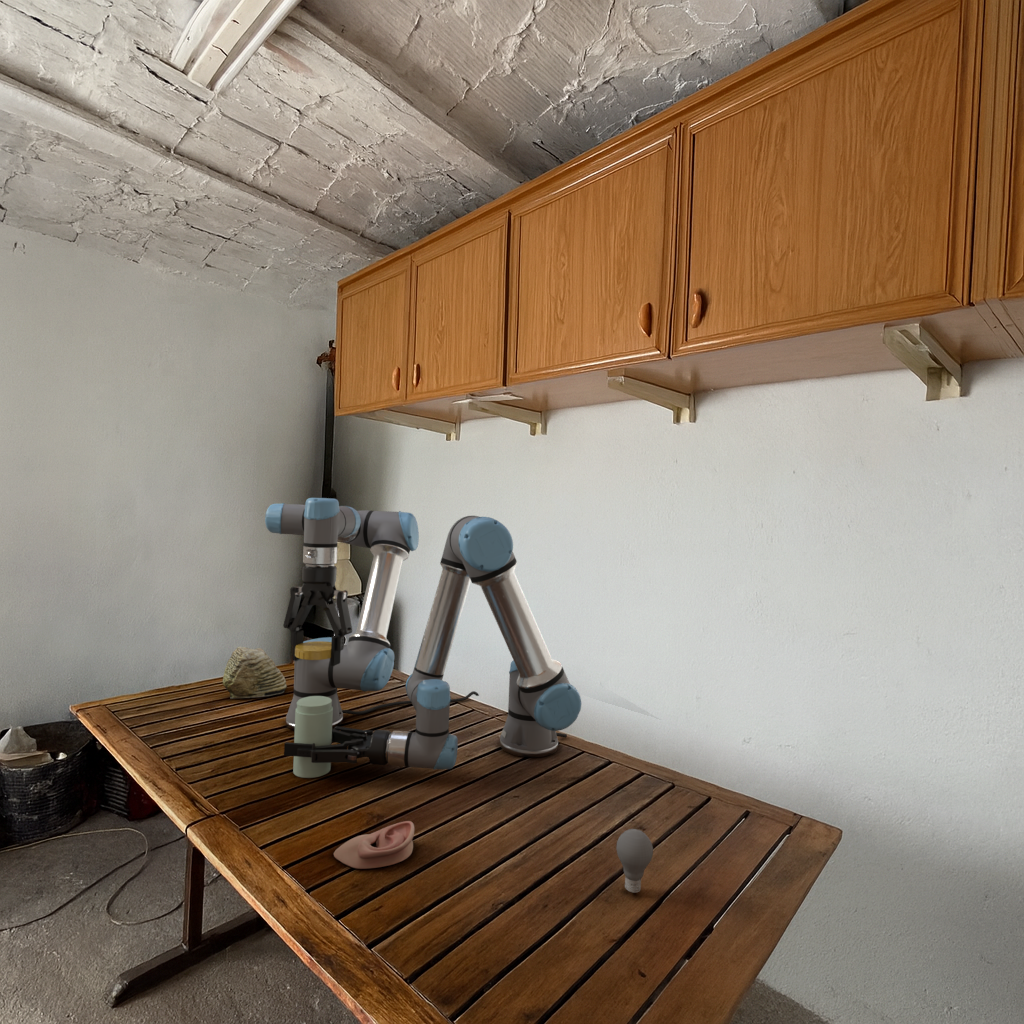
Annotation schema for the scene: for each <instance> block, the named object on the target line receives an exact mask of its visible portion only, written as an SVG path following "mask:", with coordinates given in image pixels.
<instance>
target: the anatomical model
mask: <svg viewBox="0 0 1024 1024" xmlns="http://www.w3.org/2000/svg"><path fill="white" fill-rule="evenodd" d="M414 836H415V824H414V823H413V822H412V821H411V820H405V821H400V822H397V823H393V824H391V825H388V826H386V827H383V828H381V829H379V830H376V831H373V832H371V833H368V834H367V833H366V834H361V835H357V836H355V837H353V838H351V839H349V840H347V841H345V842H344V843H342V844H341V845H340V846H338V847H337V848H336V849H335V851H334V852H333V857H334V858H335V859H336V860H337V861H339V862H341V863H342V864H344V865H346V866H348V867H350V868H353V869H357V870H367V869H376V868H377V869H378V868H382V867H387V866H388V867H389V866H393V865H395V864H398V863H400V862H403V861H405V860H407V859H408V858H409V857H410V856H411V855H412V853H413V850H414V841H413V839H414Z"/></svg>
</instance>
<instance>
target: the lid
mask: <svg viewBox="0 0 1024 1024" xmlns="http://www.w3.org/2000/svg"><path fill="white" fill-rule="evenodd" d="M331 644H332V642H324V641H314V642H305V643H301V644H298V645H296V647H295V656H296V657H297V658H300V659H305V660H323V659H329V658H331Z"/></svg>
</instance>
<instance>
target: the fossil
mask: <svg viewBox="0 0 1024 1024" xmlns="http://www.w3.org/2000/svg"><path fill="white" fill-rule="evenodd" d="M222 676H223V677H222V685H223V687H224V688H225V690H226V691H228V693H229V698H230V699H250V698H264V697H271V696H275V695H281V694H284V693H285V691H286V689H287V687H288V686H287V680H286V678H285V676H284V674H283V673H282V672H281V669H279V668H278V667H277V665H276V663H275V662H274V660H273V659H272V658H271V657H270V656H269V655H268V654H267V653H266V652H265V650H264V649H263V648H260V647H258V648H251V647H247V646H246V647H245V646H238V647H237V648H236V649H235V650H233V651H232V653H231V656H230V657H229V659H228V660H227V663H226V666H225V668H224V671H223V675H222Z"/></svg>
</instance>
